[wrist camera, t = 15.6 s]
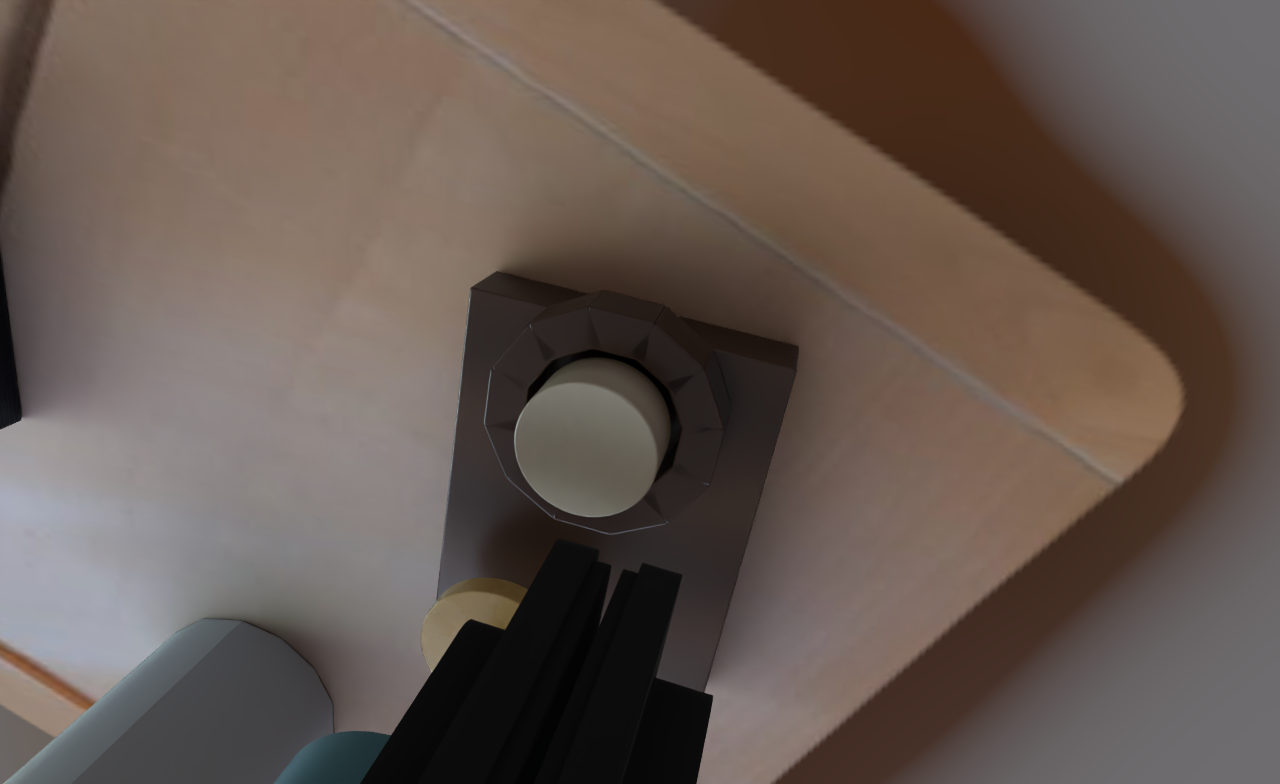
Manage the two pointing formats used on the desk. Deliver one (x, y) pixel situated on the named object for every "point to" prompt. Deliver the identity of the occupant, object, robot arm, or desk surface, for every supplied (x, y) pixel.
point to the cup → (195, 715)
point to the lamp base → (686, 480)
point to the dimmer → (7, 367)
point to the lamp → (339, 762)
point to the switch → (593, 437)
